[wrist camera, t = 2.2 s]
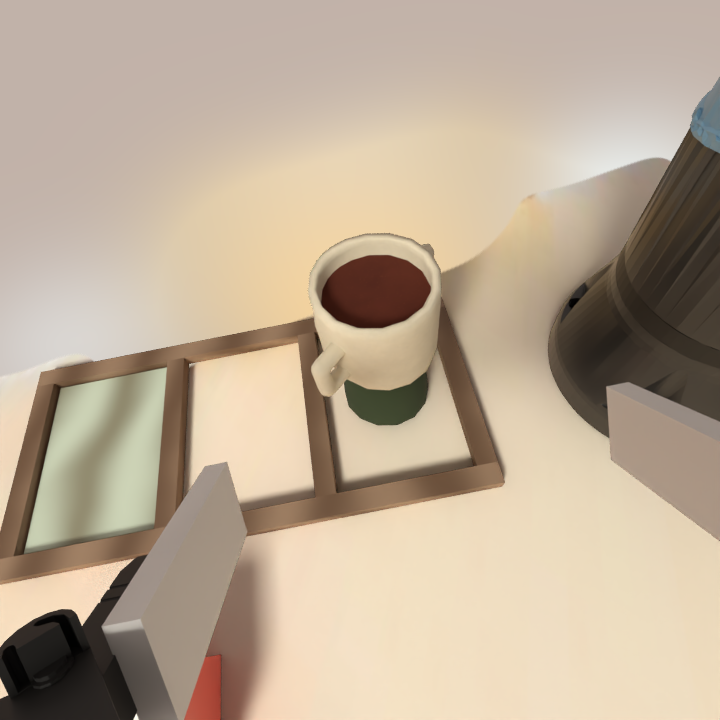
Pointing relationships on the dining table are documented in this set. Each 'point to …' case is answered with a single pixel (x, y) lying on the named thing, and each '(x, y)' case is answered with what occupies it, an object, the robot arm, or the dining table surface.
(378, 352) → the character mug
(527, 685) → the dining table surface
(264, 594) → the dining table surface
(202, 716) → the red die
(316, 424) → the game track
